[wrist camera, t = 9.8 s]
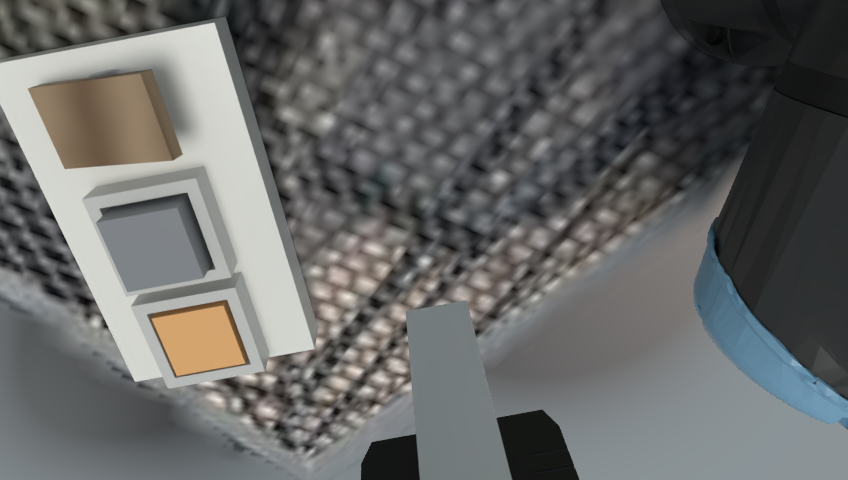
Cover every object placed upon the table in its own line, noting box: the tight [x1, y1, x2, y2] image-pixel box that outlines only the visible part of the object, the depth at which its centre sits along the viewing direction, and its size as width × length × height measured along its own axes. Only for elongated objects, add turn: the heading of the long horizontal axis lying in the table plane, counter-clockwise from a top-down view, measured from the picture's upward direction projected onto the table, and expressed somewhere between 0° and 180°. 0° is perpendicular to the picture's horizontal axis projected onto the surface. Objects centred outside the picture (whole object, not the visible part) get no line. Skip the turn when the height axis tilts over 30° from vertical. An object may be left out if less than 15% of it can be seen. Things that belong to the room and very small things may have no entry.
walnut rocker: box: [28, 69, 183, 169], centre depth 36 cm, size 8×5×1 cm, turn 99°
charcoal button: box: [96, 193, 213, 292], centre depth 39 cm, size 5×5×2 cm
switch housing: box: [0, 17, 318, 389], centre depth 42 cm, size 14×24×5 cm, turn 10°
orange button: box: [152, 300, 248, 376], centre depth 44 cm, size 5×5×2 cm
